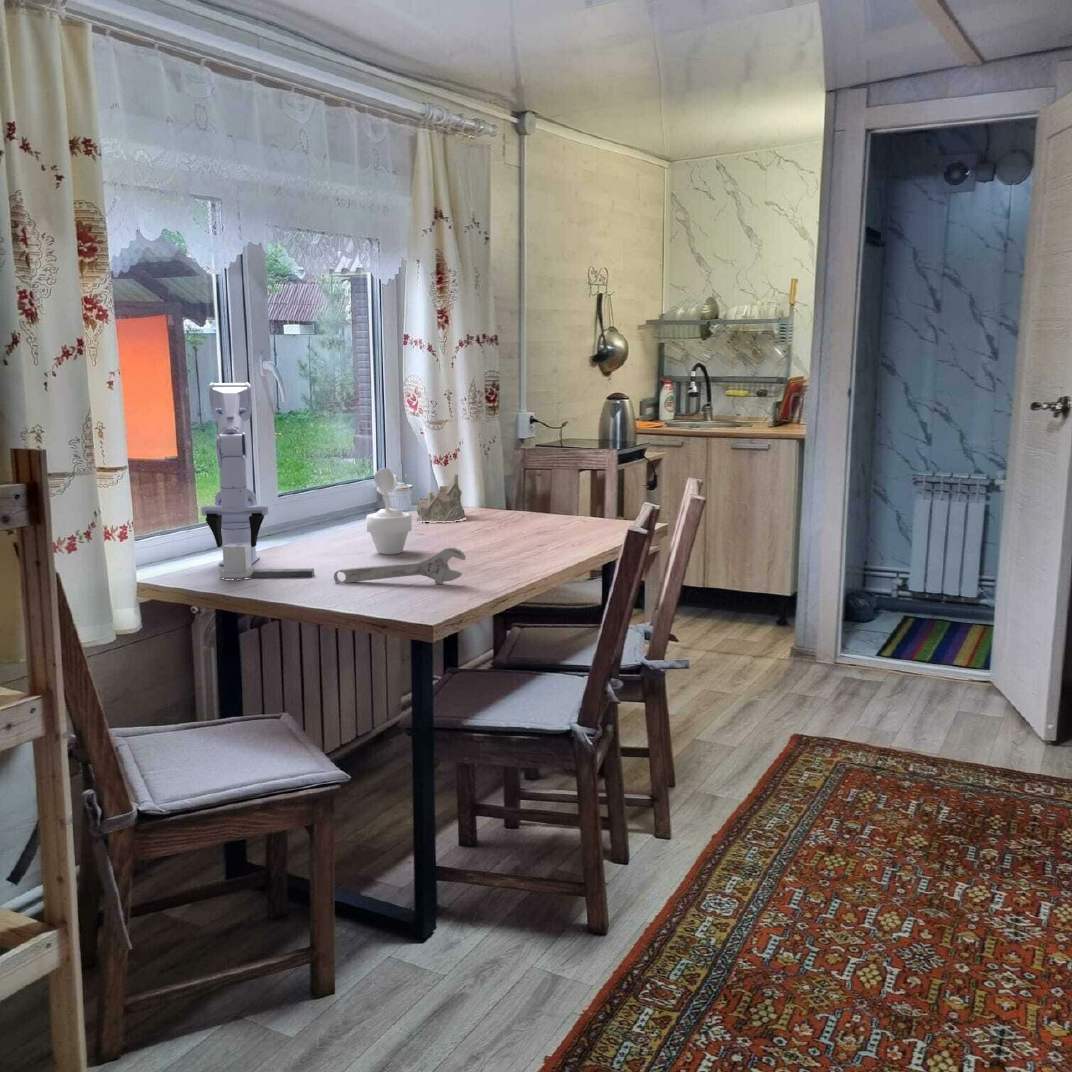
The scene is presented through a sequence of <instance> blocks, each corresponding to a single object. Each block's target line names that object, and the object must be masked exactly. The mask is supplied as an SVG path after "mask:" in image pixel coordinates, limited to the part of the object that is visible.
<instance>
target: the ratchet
mask: <svg viewBox="0 0 1072 1072" xmlns="http://www.w3.org/2000/svg"><path fill="white" fill-rule="evenodd" d="M314 576H315V568H254V567H252V569H250V570H249V571H248V572H247V573H224V569H221V570H220V571H219V578H224V579H234V580H237V579H245V578H252V579H278V578H279V579H280V578H281V579H285V578H286V579H289V578H292V579H293V578H295V579H296V578H297V579H298V578H313V577H314ZM237 581H238V580H237Z"/></svg>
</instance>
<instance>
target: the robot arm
mask: <svg viewBox="0 0 1072 1072" xmlns="http://www.w3.org/2000/svg"><path fill="white" fill-rule="evenodd" d="M251 386H252V385H251V384H250V383H249V382H248V381H247V382H229V383H228V382H224V383H223V382H218V383H216V382H210V384H208V397H209V398H208V401H209V406H210V414H211V416H212V419H213V420H215V421H217V436H215V450H216V453H215V454H216V458H217V462H218V468H219V484H220V485H219V486H220V490H219V491H217V492H216V494H215V496H214V501H215V502H214V505H203V506H201V507H200V509H201V510H200V511H201V516H206V517H205V522H206V523H207V524H208V527H209V529H210V530H211V532H212V535H213V537H214V541H215V543H216V547H217V548H222V547H223V546H225V545H226V544H228V543H250V546H251V565H253V564H254V563H255V562H257V561H259V559H260V558H261V556H260V555H257V553H256V551H257V549H256V548H257V542H258V541H257V540H258V536H259V531H260V529H261V526H262V524H263V523H262V522H263V521H264V519H265V516H267V515H269V505H262V504H261V505H259V504H257V498H256V497H257V496H256V494H255V492H254V491H253V490H251V489H250V488H249V487H248V485H247V484H248V482H247V467H246V466H247V465H246V464H247V463H246V458H247V456H248V447H247V436H246V432H245V424H244V423H245V422H246V421H248V420H250V419H251V415H252V405H253V404H252V389H251ZM243 456H244V457H245V458H244V457H243ZM218 566H224V564H223V560H221V561H220V562H218Z"/></svg>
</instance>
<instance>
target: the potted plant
mask: <svg viewBox="0 0 1072 1072" xmlns="http://www.w3.org/2000/svg"><path fill="white" fill-rule="evenodd" d="M399 468H401V462H400V458H399ZM391 470H392V469H389V468H388V467H385V468H384V467H383V468H380V469H379V470H377V471H376V472H374V473H375V474H374V476H373V477H374V478H373V480H374V482H375V484H376V486H377V487H376V492H378V494H379V495H382V494H383V499H384V504H385V508H381V509H379V510H378V511H377V512H374V513H370V514H367V515H366V532H368V533H370V535H371V538H372V541H373V544H374V546H375V549H376V552H377V553H378V554H381V555H396V554H397V553H398V554H401V553H402V552H403V551H404V548H405V545H406V540H407V538H408V534H409V532H411V531H412V529H413V528H412V527H413V525H412V524H413V523H412V522H413V521H412V520H413V519H412V513H410V512H408V513H407V512H403V511H402V510H401V509H400V510H399V509H396V508H391V500H390V496H389V494H388V493H390V492H393V491H394V490H395V489H396V487H397V486H398V481H397V478H396V474H395V473H393V472H392V471H391ZM405 477H407V474H405ZM400 552H401V553H400ZM398 554H397V555H398Z"/></svg>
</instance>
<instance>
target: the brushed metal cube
mask: <svg viewBox="0 0 1072 1072" xmlns="http://www.w3.org/2000/svg"><path fill="white" fill-rule="evenodd" d="M222 561H223V564H224V565H223V570H224V573H247V572H248V571H249V570H250V569H252V568H253V567H252V565H253V564H252V565H251V546H250V543H228V544H226V545H225V546H223V545H222Z"/></svg>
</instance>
